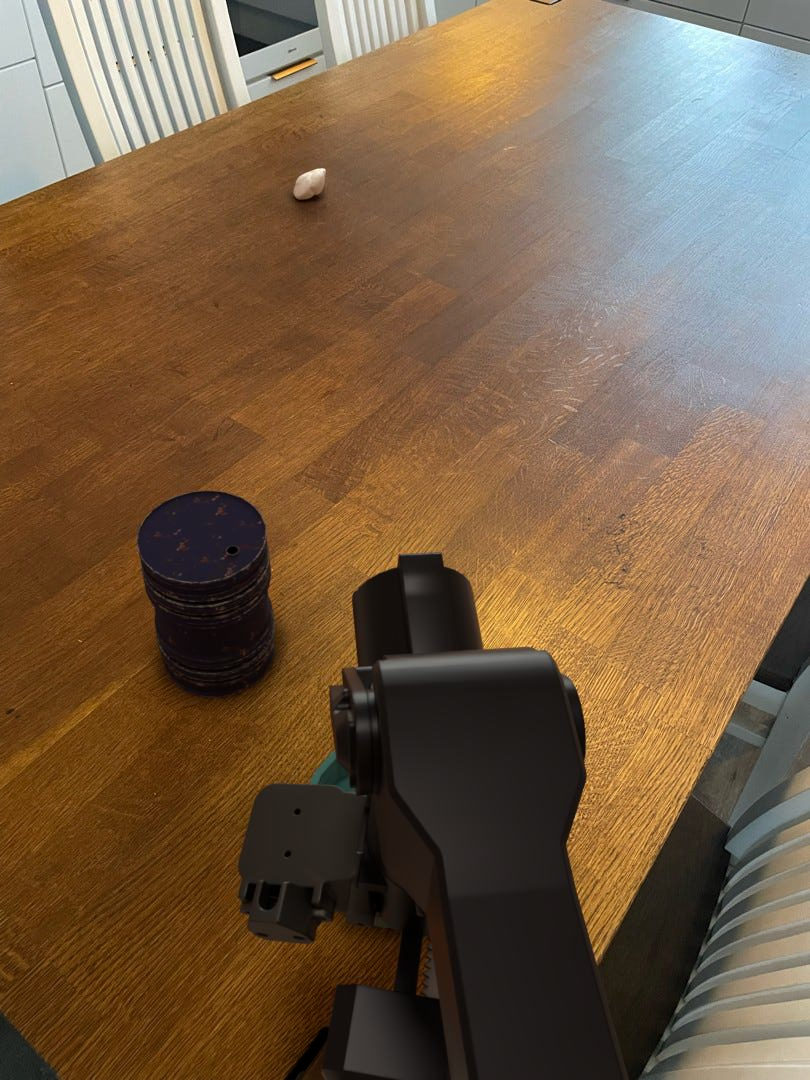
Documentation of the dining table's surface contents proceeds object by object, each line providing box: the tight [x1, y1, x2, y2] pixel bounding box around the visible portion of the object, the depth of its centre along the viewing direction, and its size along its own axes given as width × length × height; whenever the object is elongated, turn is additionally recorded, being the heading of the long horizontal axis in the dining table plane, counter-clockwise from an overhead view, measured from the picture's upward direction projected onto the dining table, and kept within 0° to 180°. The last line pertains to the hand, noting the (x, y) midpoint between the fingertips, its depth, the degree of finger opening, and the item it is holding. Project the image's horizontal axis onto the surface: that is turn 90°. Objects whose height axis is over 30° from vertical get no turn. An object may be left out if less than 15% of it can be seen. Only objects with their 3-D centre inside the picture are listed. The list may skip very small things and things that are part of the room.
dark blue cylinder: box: [136, 489, 276, 699], centre depth 73 cm, size 10×10×15 cm
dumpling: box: [293, 168, 327, 200], centre depth 137 cm, size 7×5×4 cm
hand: (405, 922), depth 51 cm, fingers open, 9 cm apart
